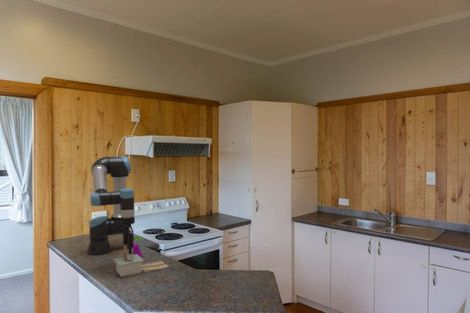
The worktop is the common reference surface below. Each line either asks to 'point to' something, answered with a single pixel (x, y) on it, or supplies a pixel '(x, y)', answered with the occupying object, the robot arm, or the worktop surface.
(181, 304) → the worktop surface
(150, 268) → the mat
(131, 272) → the white open box
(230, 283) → the worktop surface
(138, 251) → the magenta low-poly plum
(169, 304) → the worktop surface
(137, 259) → the lid
